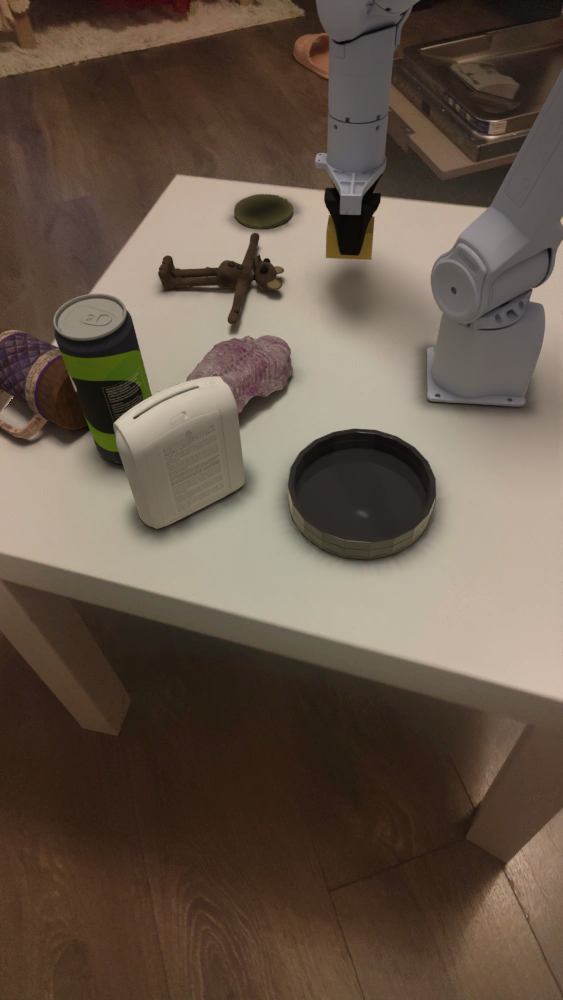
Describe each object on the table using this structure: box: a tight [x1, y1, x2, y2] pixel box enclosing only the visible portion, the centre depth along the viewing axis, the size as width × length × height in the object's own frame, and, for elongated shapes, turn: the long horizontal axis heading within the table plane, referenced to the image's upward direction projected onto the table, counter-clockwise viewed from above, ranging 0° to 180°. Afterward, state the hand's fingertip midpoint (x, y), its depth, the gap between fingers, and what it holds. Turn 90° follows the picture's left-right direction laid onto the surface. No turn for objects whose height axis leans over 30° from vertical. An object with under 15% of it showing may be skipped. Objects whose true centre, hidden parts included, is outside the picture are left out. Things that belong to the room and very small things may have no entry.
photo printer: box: [113, 376, 246, 530], centre depth 55 cm, size 10×4×12 cm, turn 123°
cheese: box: [325, 214, 376, 261], centre depth 72 cm, size 5×3×3 cm
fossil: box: [185, 334, 294, 415], centre depth 66 cm, size 8×14×5 cm, turn 144°
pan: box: [287, 428, 437, 561], centre depth 58 cm, size 13×13×3 cm
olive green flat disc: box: [233, 193, 294, 229], centre depth 89 cm, size 8×8×1 cm
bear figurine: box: [157, 232, 285, 325], centre depth 78 cm, size 18×4×14 cm
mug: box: [0, 328, 88, 439], centre depth 65 cm, size 10×7×12 cm
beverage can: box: [52, 292, 153, 465], centre depth 58 cm, size 6×6×15 cm
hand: (350, 243), depth 73 cm, fingers closed on cheese, 3 cm apart
